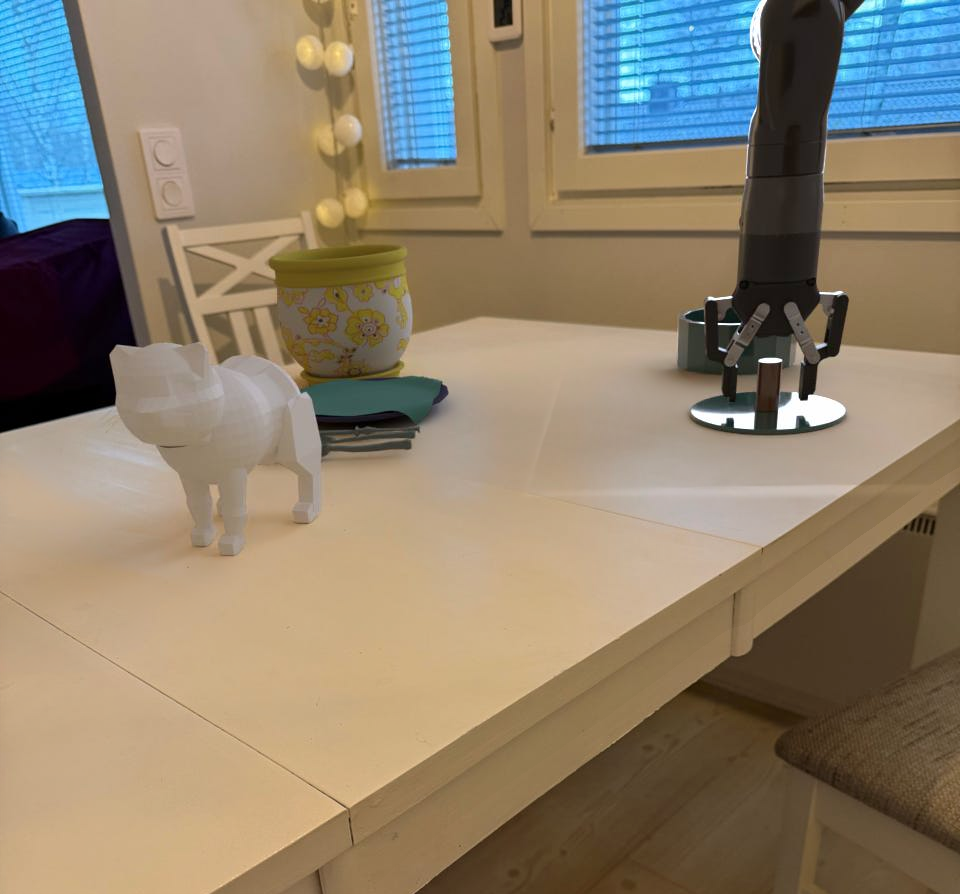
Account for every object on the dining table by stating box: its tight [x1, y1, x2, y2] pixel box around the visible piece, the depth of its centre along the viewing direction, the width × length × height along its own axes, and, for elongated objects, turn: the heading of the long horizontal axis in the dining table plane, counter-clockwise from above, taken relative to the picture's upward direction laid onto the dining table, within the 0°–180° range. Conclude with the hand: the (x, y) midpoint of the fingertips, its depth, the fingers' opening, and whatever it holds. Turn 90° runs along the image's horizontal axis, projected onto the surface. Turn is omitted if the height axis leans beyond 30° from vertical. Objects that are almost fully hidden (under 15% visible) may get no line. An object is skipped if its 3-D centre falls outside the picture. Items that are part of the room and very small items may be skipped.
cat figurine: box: [98, 341, 323, 556], centre depth 77 cm, size 25×10×17 cm, turn 164°
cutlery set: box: [299, 375, 449, 458], centre depth 109 cm, size 20×30×2 cm, turn 176°
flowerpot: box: [268, 243, 413, 386], centre depth 127 cm, size 18×18×16 cm
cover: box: [689, 358, 847, 435], centre depth 98 cm, size 16×16×6 cm
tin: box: [676, 307, 798, 376], centre depth 121 cm, size 15×20×6 cm
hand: (767, 399), depth 99 cm, fingers open, 6 cm apart
